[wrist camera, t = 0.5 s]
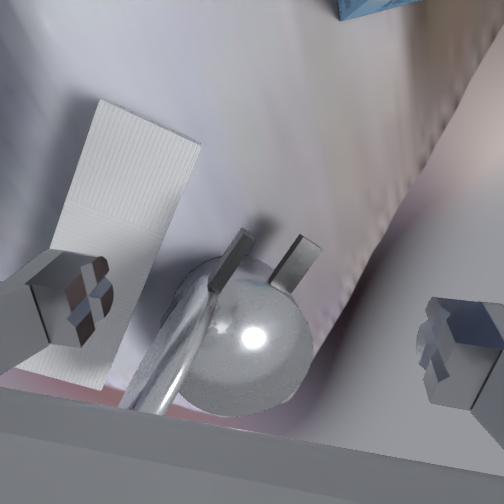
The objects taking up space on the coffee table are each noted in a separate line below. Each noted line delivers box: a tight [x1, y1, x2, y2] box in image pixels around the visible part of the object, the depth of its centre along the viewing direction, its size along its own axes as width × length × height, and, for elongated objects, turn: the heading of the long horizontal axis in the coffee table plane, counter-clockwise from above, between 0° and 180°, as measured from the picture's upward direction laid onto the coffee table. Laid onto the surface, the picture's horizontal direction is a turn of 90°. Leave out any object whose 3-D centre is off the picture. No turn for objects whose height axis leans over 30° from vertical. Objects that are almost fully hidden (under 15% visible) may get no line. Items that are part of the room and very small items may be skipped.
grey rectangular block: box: [15, 99, 201, 391], centre depth 46 cm, size 32×11×11 cm, turn 155°
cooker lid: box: [118, 228, 255, 416], centre depth 34 cm, size 18×24×1 cm
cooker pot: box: [160, 234, 322, 416], centre depth 50 cm, size 19×25×12 cm
